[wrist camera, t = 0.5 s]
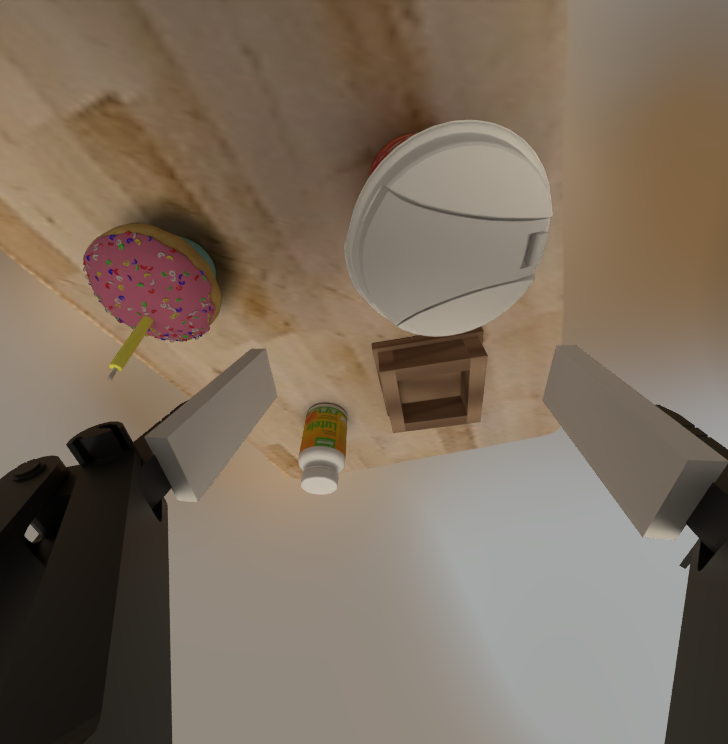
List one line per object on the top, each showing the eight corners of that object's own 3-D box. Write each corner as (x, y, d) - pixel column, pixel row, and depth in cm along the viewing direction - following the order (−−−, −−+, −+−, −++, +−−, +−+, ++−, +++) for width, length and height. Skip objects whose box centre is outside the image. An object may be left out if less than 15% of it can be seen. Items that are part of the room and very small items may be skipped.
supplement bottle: (342, 399, 36) (337, 471, 29) (351, 425, 40) (348, 495, 33) (300, 404, 37) (286, 476, 30) (313, 429, 41) (303, 499, 33)
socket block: (372, 343, 30) (373, 369, 27) (480, 325, 29) (493, 350, 26) (387, 410, 38) (389, 435, 35) (474, 398, 36) (484, 424, 33)
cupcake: (250, 307, 27) (196, 403, 19) (161, 310, 28) (66, 407, 19) (214, 204, 22) (113, 273, 13) (103, 210, 22) (-74, 281, 13)
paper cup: (468, 102, 18) (613, 98, 8) (457, 233, 23) (534, 336, 13) (343, 123, 19) (320, 146, 8) (359, 246, 24) (358, 354, 13)
